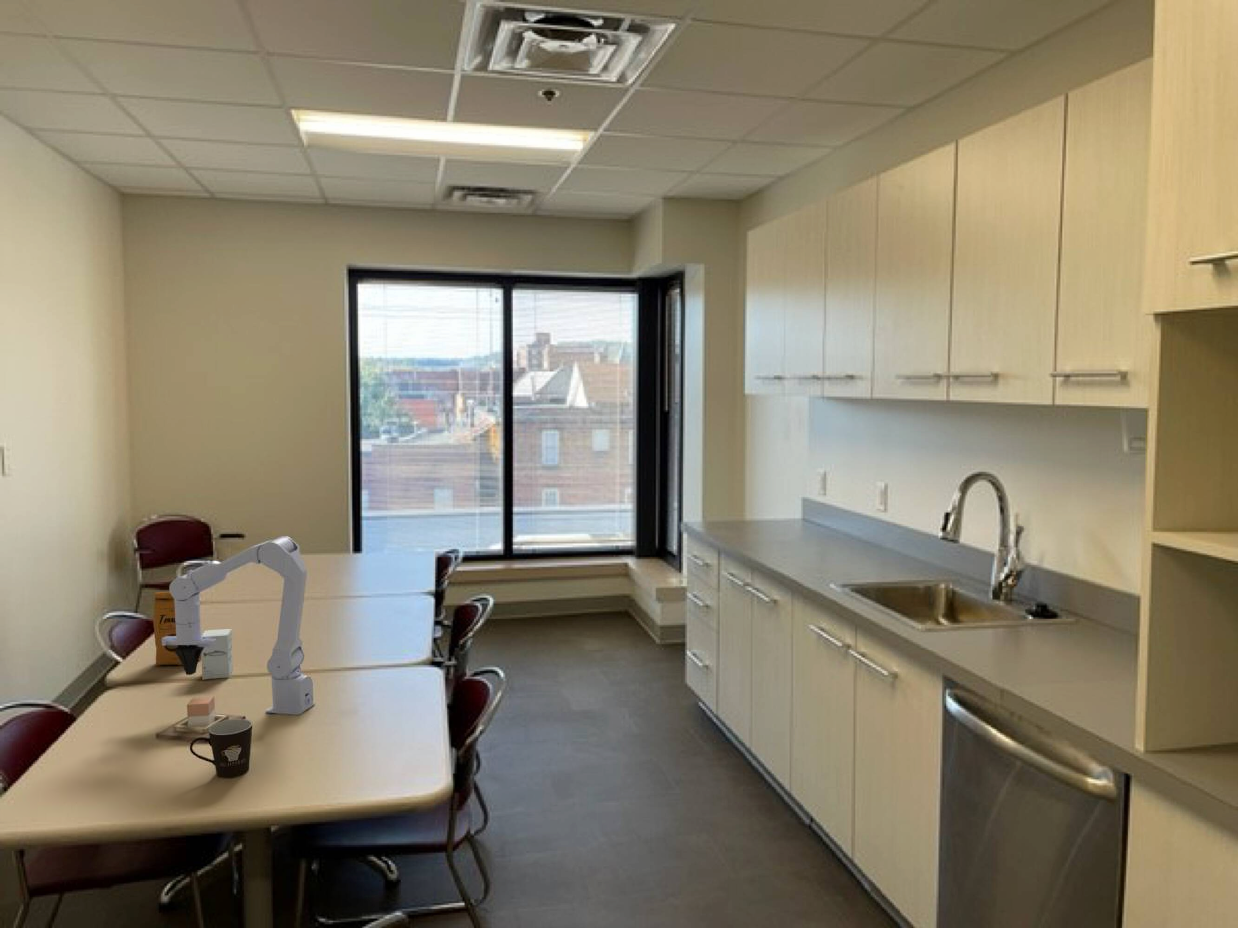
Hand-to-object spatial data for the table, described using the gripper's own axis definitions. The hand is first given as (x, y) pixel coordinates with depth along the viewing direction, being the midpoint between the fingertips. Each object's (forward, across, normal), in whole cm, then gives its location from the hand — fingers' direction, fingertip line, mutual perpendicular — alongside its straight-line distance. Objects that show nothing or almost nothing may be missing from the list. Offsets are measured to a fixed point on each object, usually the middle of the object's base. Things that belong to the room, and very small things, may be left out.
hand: (190, 673), depth 223 cm
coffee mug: (+10, -32, +31) cm, 46 cm away
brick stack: (+8, -11, +11) cm, 17 cm away
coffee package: (+10, +30, -33) cm, 46 cm away
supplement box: (+10, +11, -25) cm, 29 cm away
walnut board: (+9, -11, +11) cm, 18 cm away
